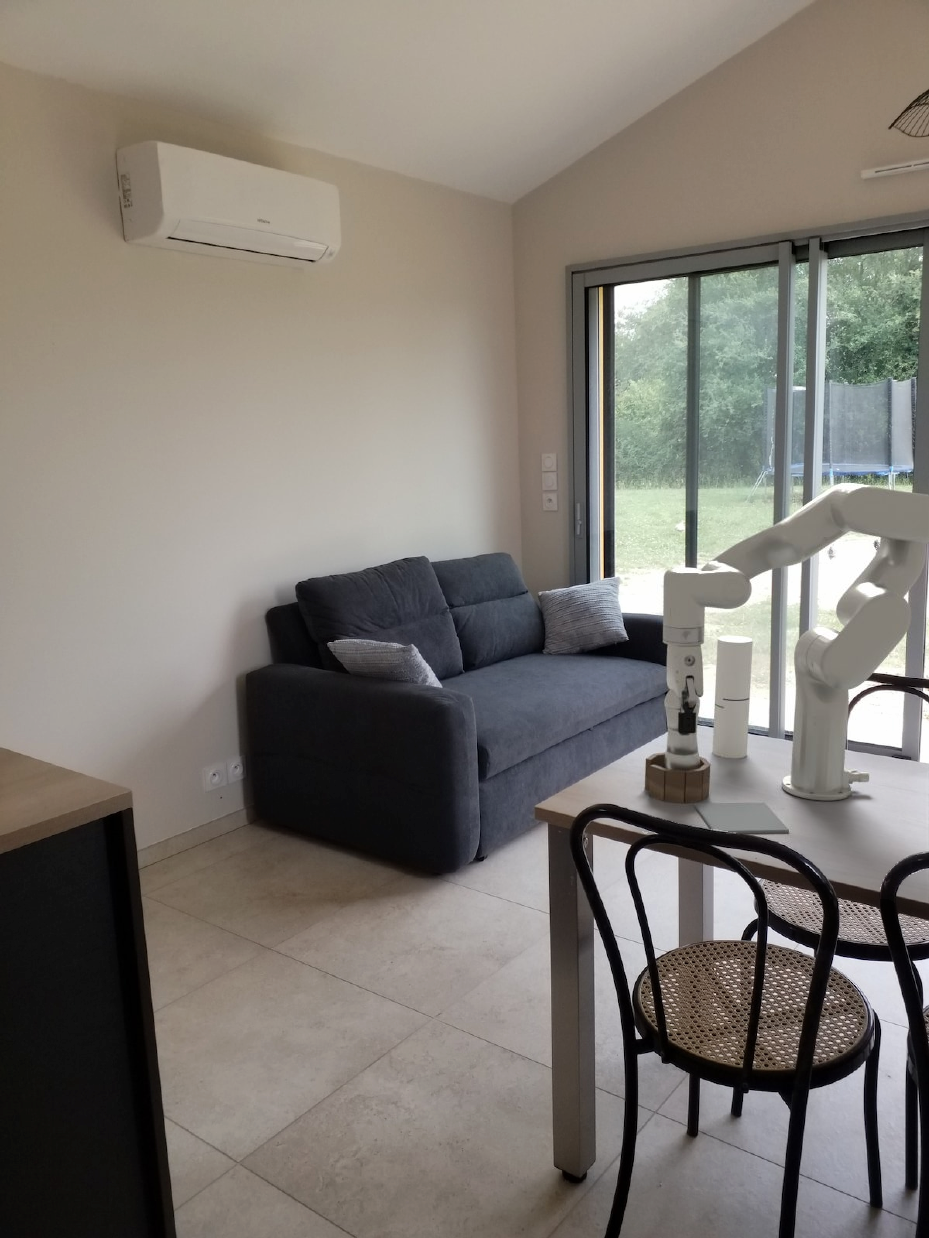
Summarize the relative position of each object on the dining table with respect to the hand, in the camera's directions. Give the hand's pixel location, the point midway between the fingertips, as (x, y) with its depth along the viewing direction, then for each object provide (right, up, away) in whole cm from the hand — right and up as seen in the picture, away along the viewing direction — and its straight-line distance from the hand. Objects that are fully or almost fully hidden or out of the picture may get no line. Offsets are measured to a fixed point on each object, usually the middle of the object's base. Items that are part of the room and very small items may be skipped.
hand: (682, 726), depth 190 cm
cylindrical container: (+16, -9, +25) cm, 31 cm away
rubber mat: (+8, -15, -11) cm, 20 cm away
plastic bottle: (0, -10, +2) cm, 10 cm away
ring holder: (-1, -13, +2) cm, 13 cm away
